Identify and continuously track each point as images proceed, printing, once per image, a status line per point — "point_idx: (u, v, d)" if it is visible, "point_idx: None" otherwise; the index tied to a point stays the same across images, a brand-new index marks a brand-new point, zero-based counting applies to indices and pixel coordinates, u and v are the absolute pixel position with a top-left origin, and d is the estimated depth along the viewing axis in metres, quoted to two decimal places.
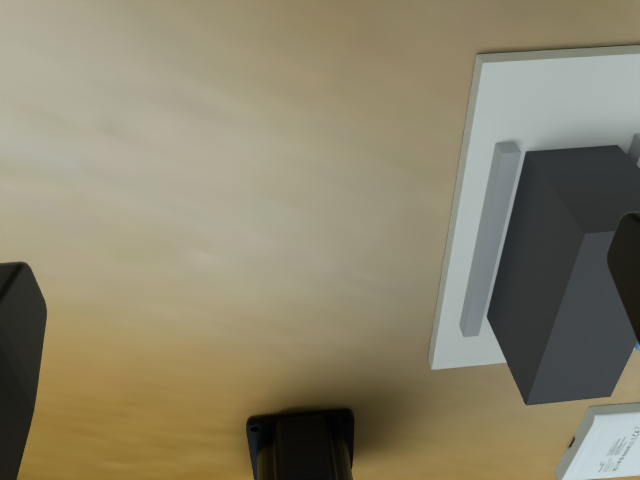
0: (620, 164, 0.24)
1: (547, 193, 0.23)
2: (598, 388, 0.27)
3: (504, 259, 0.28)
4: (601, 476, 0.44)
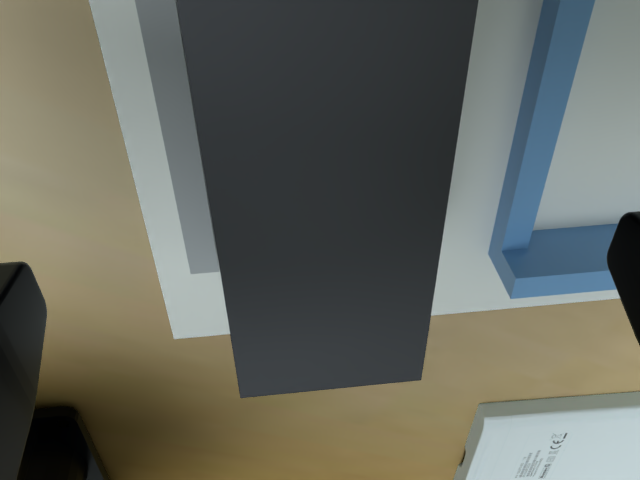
0: None
1: None
2: (387, 362, 0.13)
3: None
4: None
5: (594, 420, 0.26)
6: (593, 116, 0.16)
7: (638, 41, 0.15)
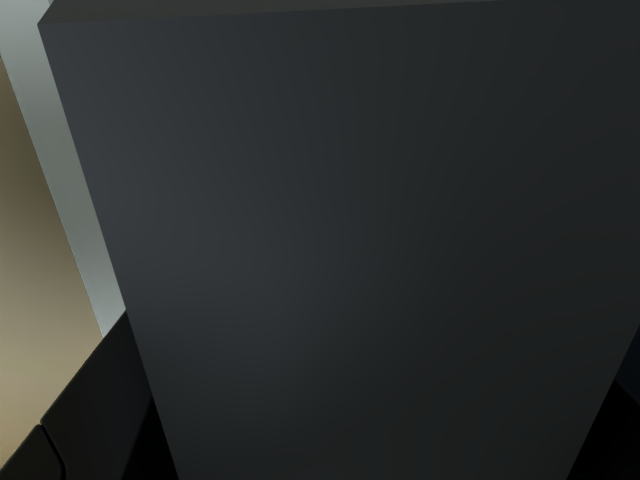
0: None
1: None
2: None
3: None
4: None
5: None
6: None
7: None
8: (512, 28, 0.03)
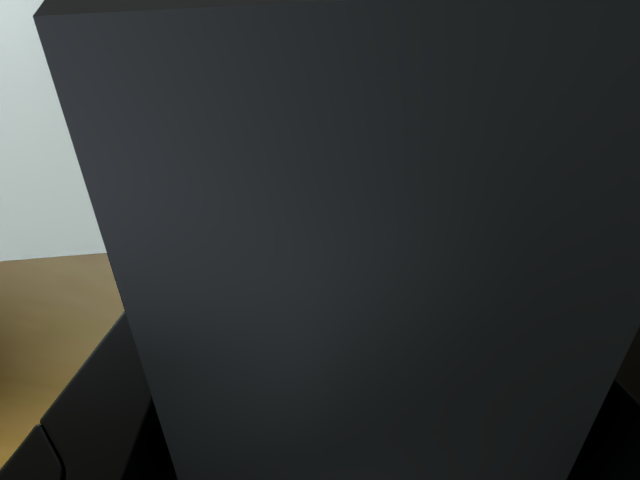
0: None
1: None
2: None
3: None
4: None
5: None
6: None
7: None
8: (514, 20, 0.03)
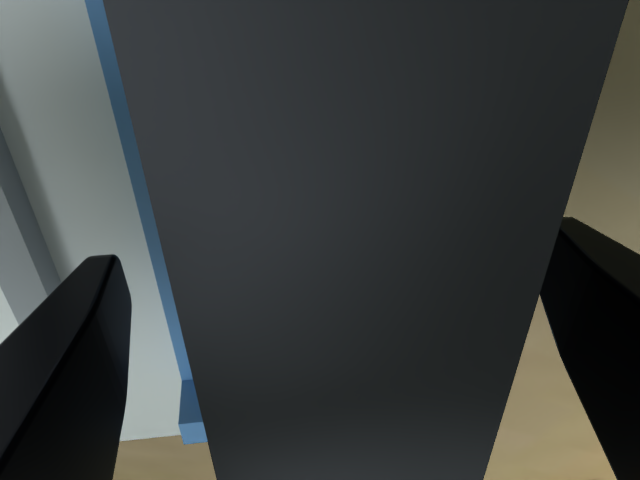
0: None
1: None
2: None
3: None
4: None
5: None
6: None
7: None
8: None
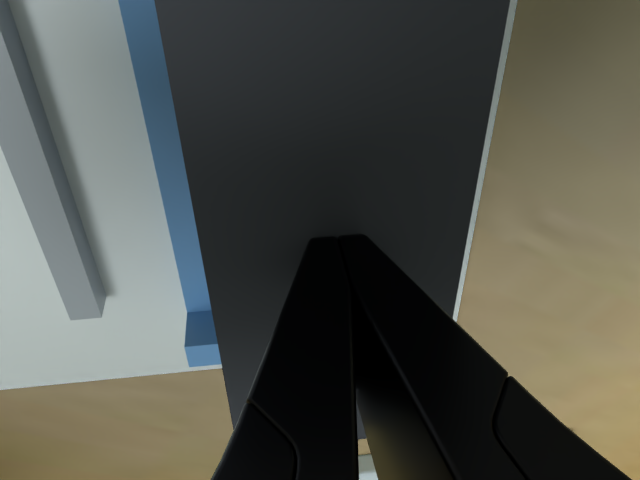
0: None
1: None
2: None
3: None
4: None
5: None
6: None
7: None
8: None
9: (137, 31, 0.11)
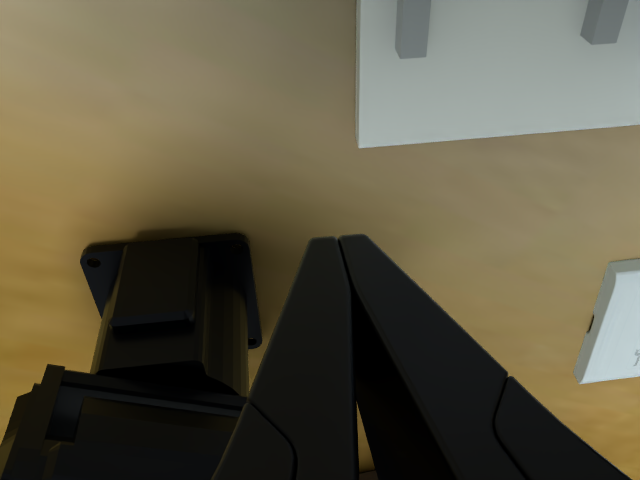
0: None
1: None
2: None
3: None
4: (639, 372, 0.32)
5: None
6: None
7: None
8: None
9: None
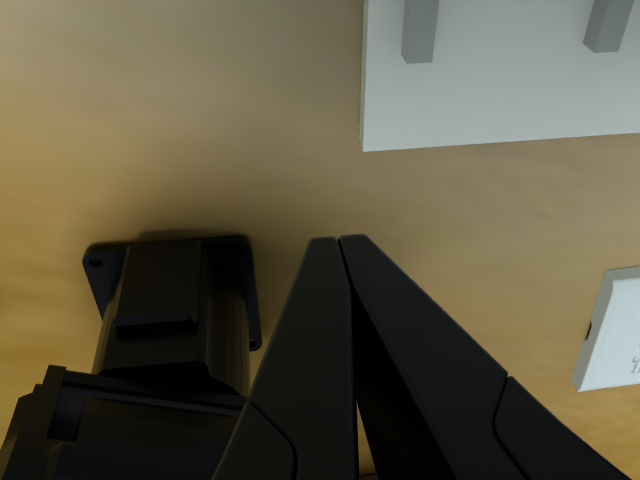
0: None
1: None
2: None
3: None
4: (637, 380, 0.32)
5: None
6: None
7: None
8: None
9: None
